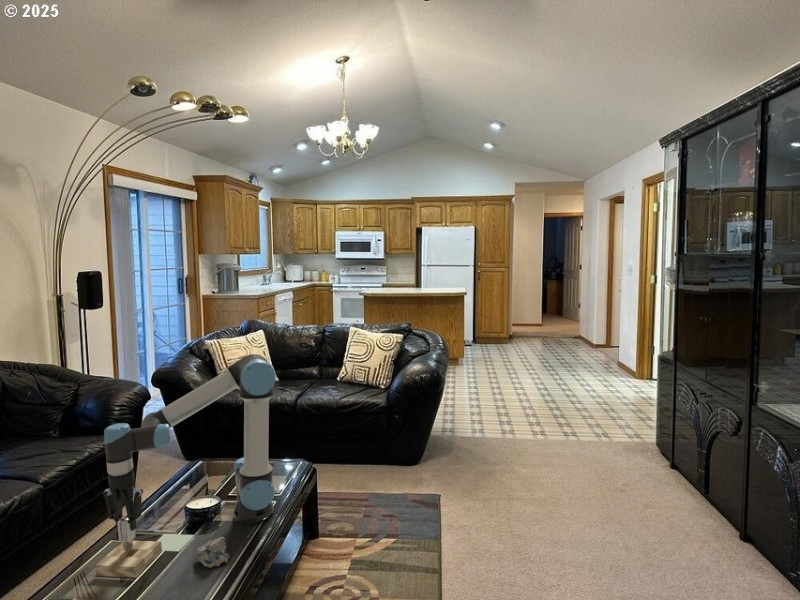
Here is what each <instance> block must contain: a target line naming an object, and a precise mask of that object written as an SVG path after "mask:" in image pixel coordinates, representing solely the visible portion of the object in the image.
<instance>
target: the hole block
mask: <svg viewBox="0 0 800 600" xmlns="http://www.w3.org/2000/svg"><path fill="white" fill-rule="evenodd" d="M156 541H157V540H156ZM156 541H151V540H133V548H132V549H130V550H123V542H122V541H121V543H119V544H118V545H117V546H116V547H115V548H114V549H112V550H111V551H109V553H108V554H107V555H105V556H104V557H103V558H102V559H101V560H99V561H98V562H97V563H96V564H95V573H96V575H95V576H97V577H114V578H115V577H116V578H117V577H118V578H137V577H138V576H139V575H141V574H142V573H143V571H144V570H146V568H147V567H149V566H150V565H151V564H152V562H153V561H155V559H157V557H158V556H160V555H161V553H163V551H162V545H161V542H156Z"/></svg>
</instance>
